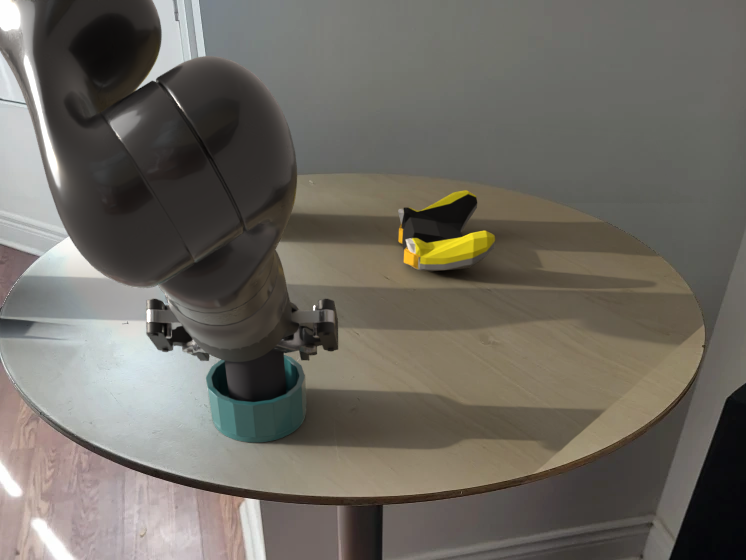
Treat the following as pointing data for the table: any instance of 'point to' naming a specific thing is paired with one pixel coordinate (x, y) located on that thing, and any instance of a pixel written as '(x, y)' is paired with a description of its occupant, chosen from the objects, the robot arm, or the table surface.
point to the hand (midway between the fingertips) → (255, 349)
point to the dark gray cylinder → (257, 378)
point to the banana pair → (443, 235)
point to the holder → (257, 407)
